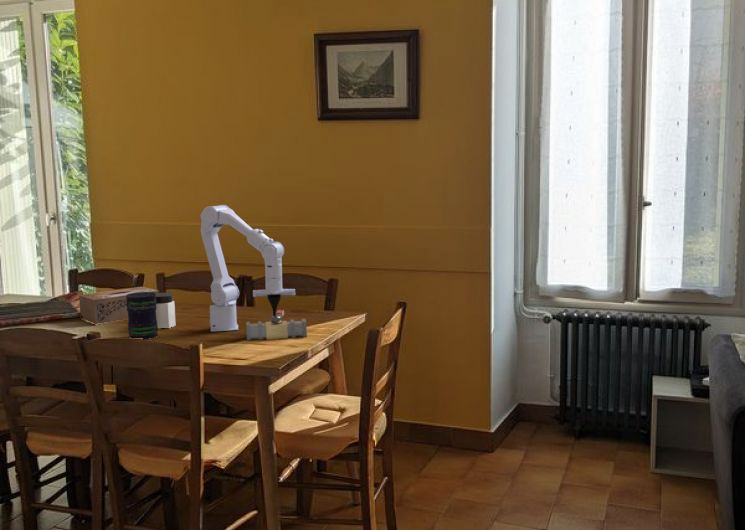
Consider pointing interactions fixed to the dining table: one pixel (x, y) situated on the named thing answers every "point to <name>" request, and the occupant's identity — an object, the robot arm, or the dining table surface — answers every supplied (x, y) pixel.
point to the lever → (277, 316)
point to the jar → (165, 310)
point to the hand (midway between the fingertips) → (274, 316)
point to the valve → (276, 329)
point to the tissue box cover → (107, 304)
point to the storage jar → (142, 315)
